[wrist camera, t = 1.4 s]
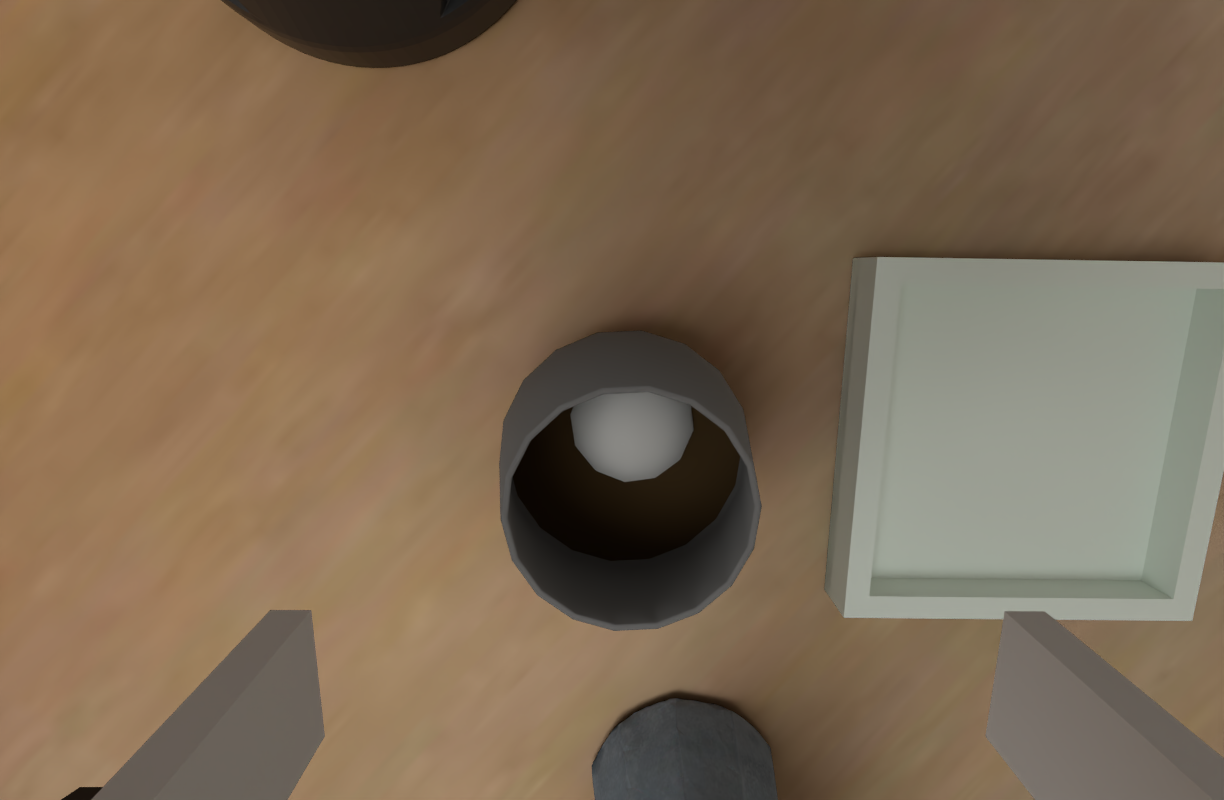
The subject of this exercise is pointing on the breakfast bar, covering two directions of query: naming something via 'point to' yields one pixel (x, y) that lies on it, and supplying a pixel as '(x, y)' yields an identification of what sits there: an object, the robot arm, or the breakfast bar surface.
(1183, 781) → the robot arm
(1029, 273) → the tray
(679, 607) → the cup
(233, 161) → the breakfast bar surface
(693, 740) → the moka pot
